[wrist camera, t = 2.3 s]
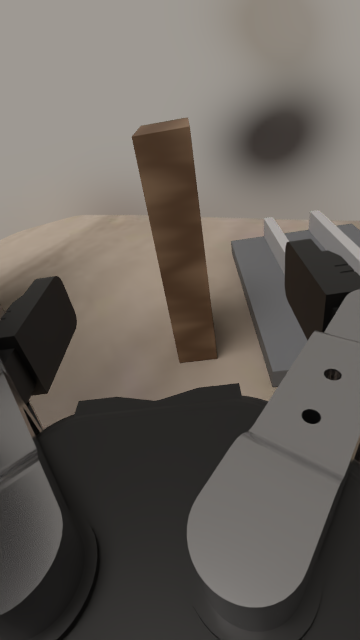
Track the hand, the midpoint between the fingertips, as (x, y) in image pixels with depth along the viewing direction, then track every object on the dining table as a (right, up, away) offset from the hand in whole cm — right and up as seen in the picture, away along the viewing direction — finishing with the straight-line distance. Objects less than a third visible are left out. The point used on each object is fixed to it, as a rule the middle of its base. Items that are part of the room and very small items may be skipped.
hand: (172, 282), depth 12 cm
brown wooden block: (+2, -3, +16) cm, 17 cm away
